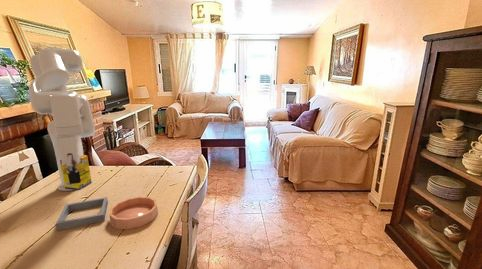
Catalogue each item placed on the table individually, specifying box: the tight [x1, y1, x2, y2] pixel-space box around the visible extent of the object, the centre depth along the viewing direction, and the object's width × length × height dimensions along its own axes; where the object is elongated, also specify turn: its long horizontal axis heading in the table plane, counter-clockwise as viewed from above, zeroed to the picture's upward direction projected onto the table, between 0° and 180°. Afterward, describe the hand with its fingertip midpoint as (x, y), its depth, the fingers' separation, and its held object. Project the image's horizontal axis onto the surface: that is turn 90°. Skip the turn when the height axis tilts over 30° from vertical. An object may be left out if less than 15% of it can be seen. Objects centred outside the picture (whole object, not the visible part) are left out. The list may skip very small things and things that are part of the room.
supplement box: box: [60, 154, 93, 191], centre depth 88 cm, size 6×6×11 cm
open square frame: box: [55, 196, 109, 232], centre depth 91 cm, size 14×14×2 cm
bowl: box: [108, 196, 159, 230], centre depth 90 cm, size 16×16×4 cm
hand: (77, 177), depth 88 cm, fingers closed on supplement box, 8 cm apart
